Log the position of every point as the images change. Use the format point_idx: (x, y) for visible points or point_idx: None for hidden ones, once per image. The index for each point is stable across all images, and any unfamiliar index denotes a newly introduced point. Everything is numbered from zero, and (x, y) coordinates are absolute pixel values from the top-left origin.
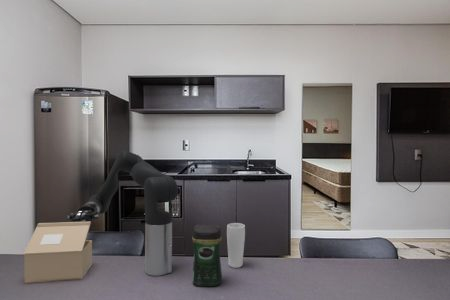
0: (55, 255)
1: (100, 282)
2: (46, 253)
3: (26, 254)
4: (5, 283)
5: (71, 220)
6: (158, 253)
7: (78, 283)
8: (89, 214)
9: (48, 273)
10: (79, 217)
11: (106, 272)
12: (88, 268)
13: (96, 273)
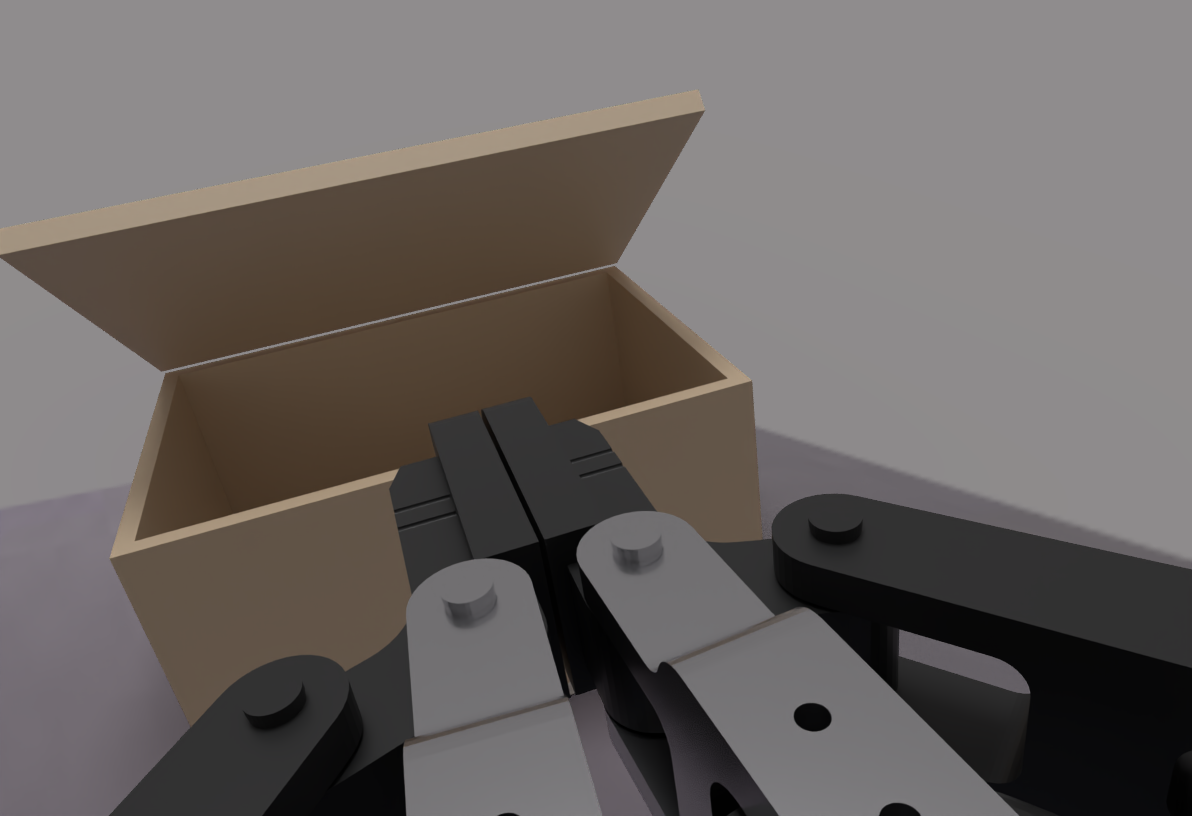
0: (391, 336)
1: (86, 579)
2: (455, 299)
3: (600, 265)
4: (768, 434)
5: (902, 672)
6: None
7: None
8: (169, 779)
9: None
10: (446, 478)
11: (40, 701)
12: None
13: (138, 666)
